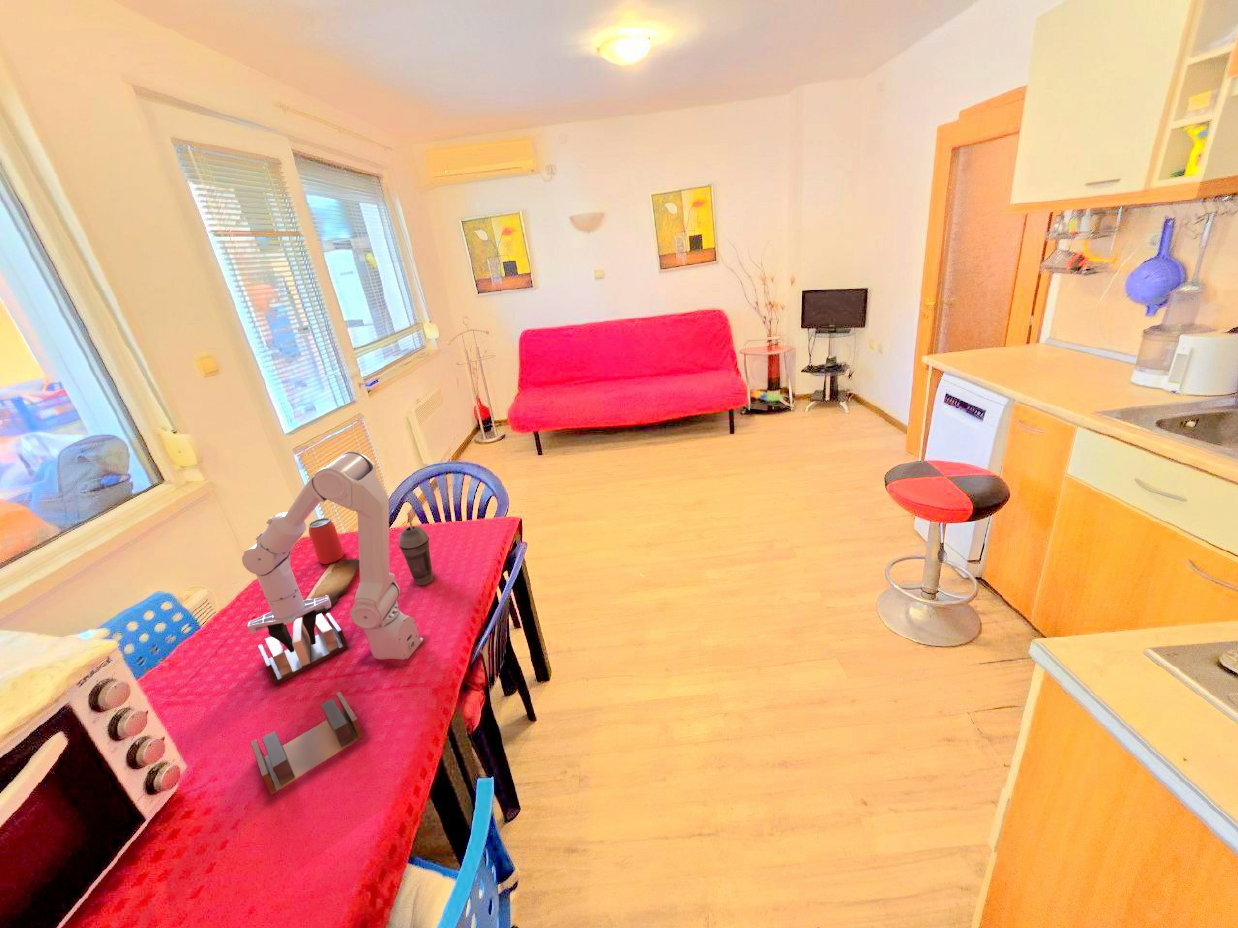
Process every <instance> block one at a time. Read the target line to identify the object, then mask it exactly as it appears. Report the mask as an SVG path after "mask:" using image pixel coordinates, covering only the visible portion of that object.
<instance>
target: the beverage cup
mask: <svg viewBox="0 0 1238 928" xmlns="http://www.w3.org/2000/svg"><path fill="white" fill-rule="evenodd" d="M407 517H408V518H407V519H408V522H409V527H405V529H403V531H402V532H401V533H400V535H399V538H398V548H400V551H401V553H402V554H403V556H404V559H405V562H406V565H407V567H408V569H409V571H410V575H411V577H412V579H413V581H414V583H415V585H417V586H424V585H425V586H426V585H428V584H429V583H431V582H432V581H433V580H434V574H433V567H432V561H431V553H430V537H429V536H428V533H427V531H425V530H424V529H423V528H421V527H419V526H415V525H413V523H412V517H411V513H410V512H408V513H407Z"/></svg>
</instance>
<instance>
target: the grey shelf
mask: <svg viewBox="0 0 1238 928" xmlns="http://www.w3.org/2000/svg"><path fill="white" fill-rule="evenodd" d="M335 695H336V698H337V700H338V704H339V706H340V708H339V707H338V705H337V703H336V702H335V699H334V698H333V697H332V698H330V699H328V700H326V701H324V702H323V703H321V704H320V707H321V709H322V712H323V715H324V717H325V720H323V721H322V722H320V723H318V724H317V725H315V726H313V727H312V728H310V729H308V730H307V731H305V732H303V733H301V734H299V735H297V736H296V737H294V738H293V739H291V740H290V741H287V742H286V743H284V744H282V742H281V739H280V737H279V735H278V733H277V731H276V730H273V731H272V732H269V733H268V734H266V735H265V736H263V737H261V740H262V743H263V746H264V749H265V751H266V755H265V754H264V753H263V750H262V748H261V745H260V744H259V742H258V740H257V739H256V738H255V739H254V740H252V741H250V745H251V748H252V750H253V751H252V752H253V754H254V757H255V760H256V763H257V766H258V769H259V772H260V776H261V778H262V780H263V781H264V784H265V786H266V788H267V790H268V792H269V794H270V795H271V796H272V795H273V794H275V793H277V792H278V791H279V790H281V789H283V788H284V787H286V786H287V785H289V784H291V783H292V782H294V781H295V780H297V779H299V778H300V777H301V776H303V775H305V774H306V773H308V772H310V771H312V770H313V769H314V768H316V767H317V766H319V765H320V764H323V762H325V761H327V760H328V759H330V758H332V757H333V756H335V755H336V754H338V753H340V752H341V751H343V750H345V749H346V748H347V747H349V746H351V745H352V744H354V743H355V742H357V741H359V740H361V738H363V737H364V733H363V730H362V728H361V725H360V723H359V720H358V717H357V716H356V714H355V713H354V711H353V709H352V708H351V706H350V704H349V703H348V701H347V699H346V697H345V696H344V694H343V693H342V691H339V692H337V693H335Z"/></svg>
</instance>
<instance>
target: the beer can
mask: <svg viewBox="0 0 1238 928" xmlns="http://www.w3.org/2000/svg"><path fill="white" fill-rule="evenodd" d="M308 536H309V538H310V540H311V544H312V546H313V549H314V552H315V554H316V559H317V560H318V563H320V564H321V565H330V564H331V563H333V562H339V561H340V560H342V558H343V557H344V550H343V547H342V543H341V540H340V538H339V537H340V536H339V534H338V531H337V528H336V525H335V524H334V523H333V521H332V519H330V517H329V518H328V517H324V518H318V519H316V520H313V521H312V522H310V523H309V524H308Z"/></svg>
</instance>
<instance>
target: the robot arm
mask: <svg viewBox="0 0 1238 928" xmlns="http://www.w3.org/2000/svg"><path fill="white" fill-rule="evenodd" d="M376 467H377V466H376V463H375V462H374V461H372V460H371V459H370V458H369V457H367V456H366V455H365V454H363V453H362V452H359V451H356V450H355V451H354V450H349V451H346V452H344V453H342V454H340V456H339V457H337V458H336V459H335V460H334V461H332V462H331V463H330V464H328V465H326V466H325V467H322V468H320V469H319V470H317V471H316V473H315V474H314V476H313V477H311V478H310V479H308V481H307V482H306V483H305V485H304V487H303V488H302V489H301V491H300V493H299V494H298V496H297V497H296V499H295V500H294V502H293V503H292V505H291V506H290V508H289V509H288V511H285V512H280V513H278V514H276V515H273V516H271V517H269V519H267V521H266V524H267V525H268V526H267V527H266V528H265V529H264V530H263V532H262V533H259V534H258V535H257V536H256V538H255V540H256V543H255V544H254V545H252V546H251V547H249V548H247V549H245V550H244V551H243V555H242V556H241V557H242V558H241V563H242V565H243V567H244V568H245V569H246V570H247V571H248V572H250V573H251V574H253V575H255V576H256V578H257V580H258V583H259V586H260V588H261V590H262V592H263V595H264V597H265V601H266V602H267V604H268V607H269V609H270V612H267V613H265V614H263V615H261V616H259V617H257V618H254V619H251V620H249V621H248V622H247V628H248V629H247V630H248V631H249V633H250V635H252V634H256V633H257V632H258V631H259V630H262V629H266V628H267V630H268V632H267V633H268V636H269V637H273V638H275V639H277V640H279V642H280V644H281V645H283V646H285V648H286V649H288V650H289V651H290V653H291V652H294V647H293V644H292V640H293V637H292V635H291V634H290V632H289V628H288V626H287V625H289V624H292V623H294V621H295V620H296V619H298V618H301V617H302V618H303V624H304V626H305V628H306V630H307V632H308V635H309V638H310V642H311V644H312V645H314V644H316V638H315V636H316V633H315V629H316V628H315V623H316V615H317V612H316V610H319V609H322V608H326V609H327V608H329V609H331V608H332V607H331V601H330V598H329V596H325V597H320V598H315V599H308V600H306V599H304V597H303V596H302V592H301V590H300V587H299V585H298V582H297V579H296V577H295V574H294V572H293V569H292V567H291V563H292V561H291V557H290V556H291V554H292V551H293V548H294V546H295V545H296V543H297V542H298V541H299V540H300V539H301V538H302V536H303V534H305V532H306V530H307V524H306V519H307V518H309V516H310V515H311V514H312V513H313V512H314V511H315V509H316V508H317V507H318V505H319V504H320V503H321V502H322V503H325V502H326V501H327V500H328V501H329V502H332V503H334V504H336V505H339V506H341V507H343V508H345V509H347V510H350V511H352V512H356V514H357V535H358V539H357V540H358V560H359V565H358V567H359V584H358V587H357V589H356V591H355V595H354V604H353V606H352V607H351V609H350V612H349V615H350V619H351V621H352V622H353V623H354V624H355V625H356V626H357V627H359V628H361V630H363V632H364V634H365V638H366V640H367V643H368V647H369V649H370V652H371V655H372V657H373V658H374V659H376V660H388V659H392V660H394V659H395V660H408V659H409V658H410V657H411V656H412V655H413V654H414V652H415V651H416V650H417V649H418V648H419V646H420V645H421V644H422V643H423V642H424V638H423V637H421V636H420V633H419V629H418V626H417V622H416V620H415V618H414V617H413V616H410V615H407V614H405V613H403V612H402V611H401V610H400V609H399V603H398V599H399V598H400V595H401V589H400V586H399V585H398V583H397V580H396V574H395V573H393V572H390V503H389V496H388V493H387V492H386V490H385V488H384V486H383V484H382V483H381V481H380V479H379V477H378V474H377V468H376ZM330 607H331V608H330Z"/></svg>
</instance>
